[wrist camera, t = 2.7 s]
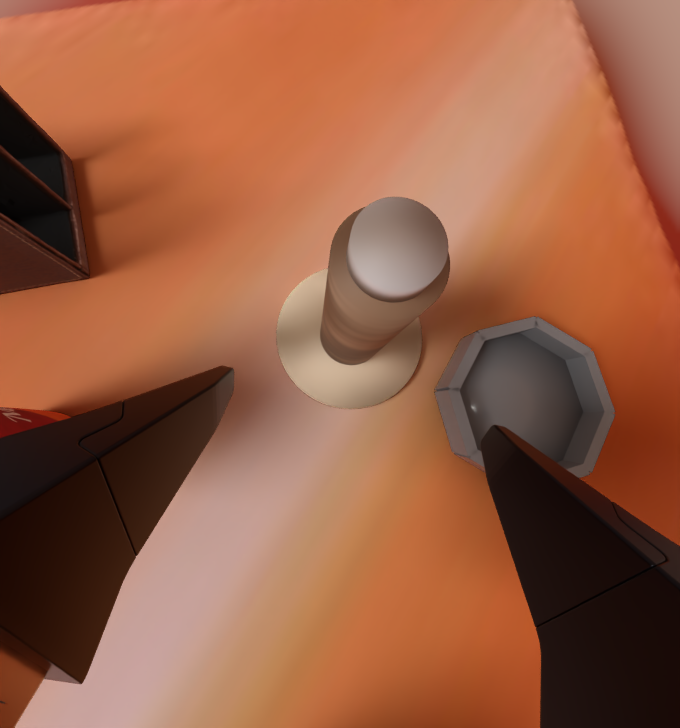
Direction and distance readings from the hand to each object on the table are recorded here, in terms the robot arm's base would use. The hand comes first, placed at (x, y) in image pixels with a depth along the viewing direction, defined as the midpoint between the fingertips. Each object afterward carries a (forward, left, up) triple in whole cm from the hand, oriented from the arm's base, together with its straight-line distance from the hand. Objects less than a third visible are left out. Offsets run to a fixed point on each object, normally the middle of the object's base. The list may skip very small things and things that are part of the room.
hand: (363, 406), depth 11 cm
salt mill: (+5, -2, -12) cm, 13 cm away
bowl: (-3, -13, -13) cm, 19 cm away
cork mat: (+5, -3, -13) cm, 14 cm away
